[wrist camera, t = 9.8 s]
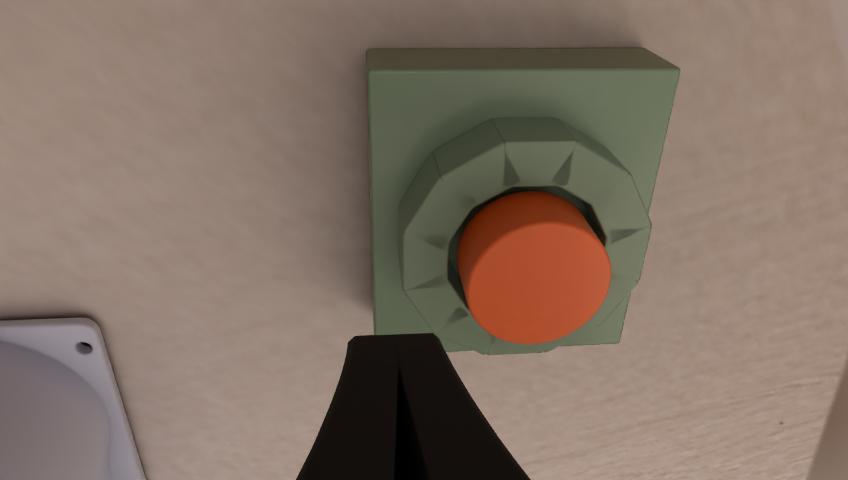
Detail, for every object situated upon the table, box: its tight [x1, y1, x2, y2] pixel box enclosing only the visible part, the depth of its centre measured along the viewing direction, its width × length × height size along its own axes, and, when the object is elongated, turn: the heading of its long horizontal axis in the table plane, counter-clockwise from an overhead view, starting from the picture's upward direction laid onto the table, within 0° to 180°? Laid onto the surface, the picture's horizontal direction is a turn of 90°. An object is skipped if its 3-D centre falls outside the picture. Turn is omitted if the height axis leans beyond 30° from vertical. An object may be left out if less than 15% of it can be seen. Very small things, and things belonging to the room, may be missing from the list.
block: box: [366, 48, 680, 355], centre depth 18 cm, size 9×8×4 cm
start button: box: [457, 191, 611, 344], centre depth 16 cm, size 4×4×2 cm
